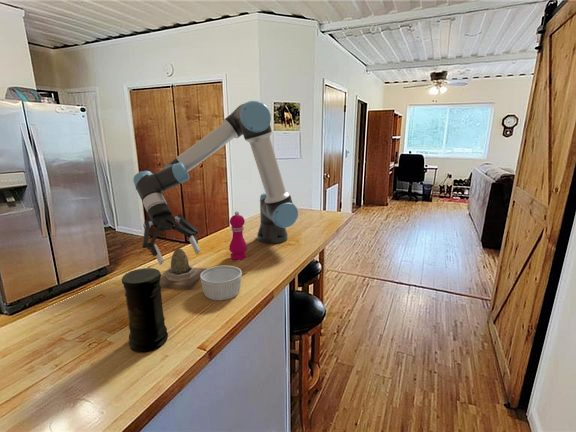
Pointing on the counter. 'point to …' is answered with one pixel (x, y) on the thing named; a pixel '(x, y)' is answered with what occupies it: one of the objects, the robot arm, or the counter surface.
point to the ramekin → (221, 282)
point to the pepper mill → (237, 238)
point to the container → (145, 309)
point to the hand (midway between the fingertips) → (180, 257)
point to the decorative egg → (179, 262)
